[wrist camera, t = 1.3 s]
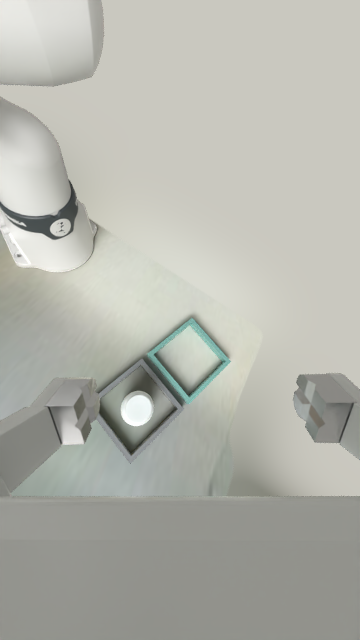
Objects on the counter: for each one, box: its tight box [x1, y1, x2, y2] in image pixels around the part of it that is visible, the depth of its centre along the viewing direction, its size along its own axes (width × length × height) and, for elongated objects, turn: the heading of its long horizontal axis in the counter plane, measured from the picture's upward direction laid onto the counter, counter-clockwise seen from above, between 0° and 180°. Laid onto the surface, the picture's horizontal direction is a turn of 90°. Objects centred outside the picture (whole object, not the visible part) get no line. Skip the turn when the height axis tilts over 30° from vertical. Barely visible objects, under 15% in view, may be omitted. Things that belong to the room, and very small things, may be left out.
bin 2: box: [147, 318, 231, 404], centre depth 46 cm, size 13×13×2 cm
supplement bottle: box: [121, 391, 154, 426], centre depth 37 cm, size 5×5×10 cm
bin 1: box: [96, 359, 184, 464], centre depth 41 cm, size 13×13×2 cm
